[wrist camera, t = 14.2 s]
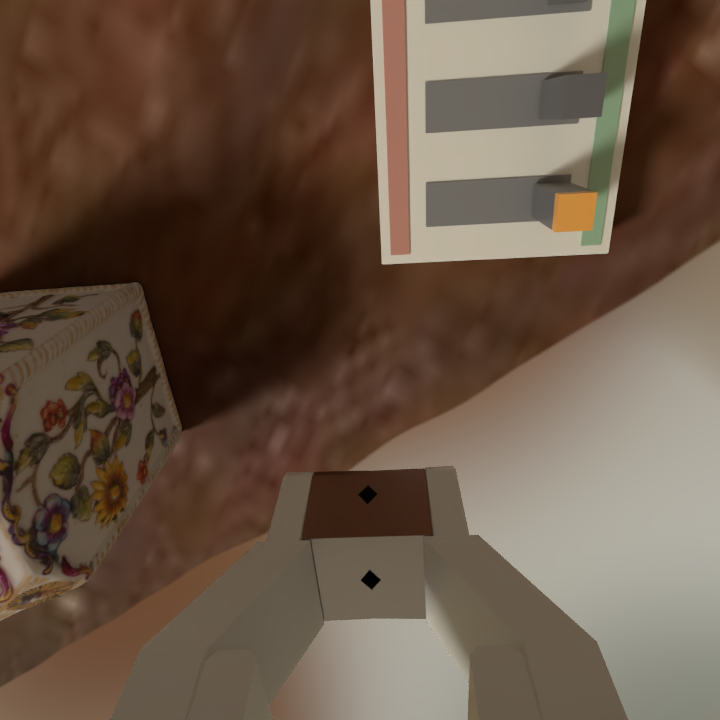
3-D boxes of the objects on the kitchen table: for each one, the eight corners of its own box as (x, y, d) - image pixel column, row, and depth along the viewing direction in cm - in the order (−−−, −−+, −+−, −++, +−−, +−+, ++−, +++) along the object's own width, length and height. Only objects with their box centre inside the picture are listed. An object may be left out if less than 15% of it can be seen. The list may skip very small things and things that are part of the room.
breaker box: (368, -65, 24) (363, -128, 18) (631, -89, 23) (720, -163, 17) (382, 251, 30) (381, 285, 24) (587, 240, 30) (640, 273, 23)
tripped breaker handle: (534, 183, 25) (559, 194, 22) (567, 181, 25) (597, 192, 22) (531, 216, 26) (555, 232, 22) (563, 214, 26) (592, 230, 22)
